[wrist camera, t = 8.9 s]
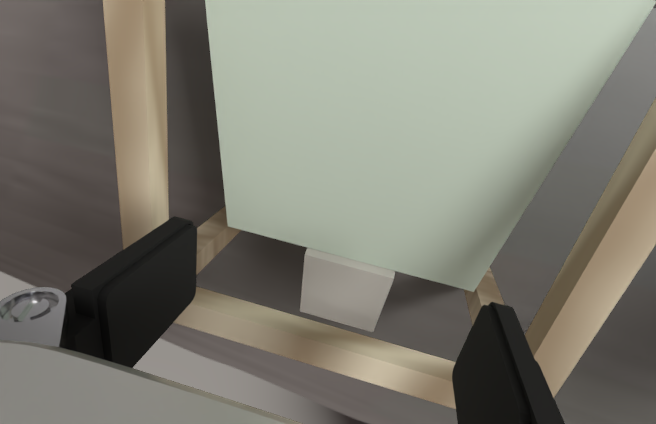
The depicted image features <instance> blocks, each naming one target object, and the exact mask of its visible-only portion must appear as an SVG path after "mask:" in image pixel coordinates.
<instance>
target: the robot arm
mask: <svg viewBox="0 0 656 424" xmlns="http://www.w3.org/2000/svg"><path fill="white" fill-rule="evenodd" d="M196 265H197V228H196V227H195V226H193V222H192V221H190V220H186V219H182V218H178V217H172V218H171V219H169V220H168V221H166V222H165V223H163V224H162V225H160V226H159V227H157V228H156V229H154V230H153V231H151V232H150V233H148V234H146V235H145V236H143V237H142V238H140V239H139V240H137V241H136V242H134V243H133V244H131V245H130V246H128V247H127V248H125V249H124V250H122V251H121V252H119V253H118V254H116V255H115V256H113V257H112V258H110V259H109V260H107V261H106V262H104V263H103V264H101V265H100V266H98V267H97V268H95V269H94V270H92V271H91V272H89V273H88V274H86V275H85V276H83V277H82V278H80V279H78V280H77V281H75V282H74V283H72V284H71V287H72V289H71V290H69V291H68V292H66V293H65V294H64V293H63V292H62V291H61V290H58V289H56V288H50V287H38V288H32V289H26V290H23V291H20V292H17V293H14V294H12V295H10V296H8V297H6V298H4V299H3V300H1V301H0V424H303V423H300V422H297V421H294V420H290V419H287V418H284V417H281V416H278V415H275V414H272V413H269V412H266V411H263V410H260V409H257V408H254V407H251V406H248V405H245V404H242V403H238V402H235V401H233V400H229V399H226V398H223V397H220V396H217V395H214V394H211V393H208V392H205V391H202V390H199V389H195V388H192V387H189V386H186V385H183V384H180V383H177V382H174V381H171V380H167V379H164V378H161V377H158V376H155V375H152V374H149V373H145V372H142V371H139V370H136V369H133V366H134V365H135V364H136V363H137V362H138V361H139V360H140V359H141V358H142V356H143V355H144V354H145V353H146V352H147V351H148V350H149V348H151V346H152V345H153V344H154V343H155V342H156V341H157V340H158V339H159V338H160V336H161V335H162V334H163V333H164V332H165V331H166V330H167V329H168V328H169V326H170V325H171V324H172V323H173V322H174V321H175V320H176V319H177V318H178V316H179V315H180V314H181V313H182V312H183V311H184V310H185V309H186V308H187V307H188V305H189V304H190V303H191V302H192V301H193V299H194V297H195V293H196ZM452 383H453V390H454V397H455V405H456V412H457V419H458V424H565V423H564V421H563V419H562V416H561V414H560V412H559V409H558V407H557V405H556V402H555V400H554V398H553V396H552V393H551V391H550V389H549V386H548V384H547V382H546V379H545V377H544V375H543V372H542V370H541V368H540V366H539V364H538V362H537V361H535V359H534V356H533V354H532V352H531V349H530V347H529V344H528V342H527V340H526V337H525V335H524V333H523V330H522V328H521V326H520V323H519V321H518V318H517V316H516V314H515V311H514V309H513V308H512V307H510V306H506V305H502V304H498V303H495V302H491V303H490V304H489V305H488V306H487V305H483V306H482V307H481V309H480V311H479V313H478V315H477V318H476V320H475V322H474V324H473V326H472V329H471V331H470V333H469V335H468V337H467V339H466V342H465V344H464V346H463V348H462V350H461V352H460V355H459V357H458V359H457V361H456V363H455V365H454V368H453V372H452Z"/></svg>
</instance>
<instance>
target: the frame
mask: <svg viewBox="0 0 656 424" xmlns="http://www.w3.org/2000/svg"><path fill="white" fill-rule="evenodd" d="M103 9H104V22H105V34H106V46H107V58H108V70H109V82H110V95H111V107H112V119H113V131H114V143H115V155H116V167H117V180H118V192H119V204H120V216H121V228H122V240H123V250H124V249H125V248H127V247H128V246H130V245H131V244H133V243H134V242H136V241H137V240H139V239H140V238H142V237H143V236H145V235H146V234H148V233H150V232H151V231H153V230H154V229H156V228H157V227H159V226H160V225H162V224H163V223H165V222H166V221H168V220H169V205H168V147H167V89H166V31H165V0H103ZM240 231H241V230H240V229H236V228H232V227H229V226H228V224H227V214H226V206H225V207H223V208H222V209H221V210H220V211H218V212H217V213H216V214H215V215H213V216H212V217H211V218H209V219H208V220H207V221H206V222H204V223H203V224H202V225H201V226H199V227H198V228H197V265H196V275H197V274H198V273H199V272H200V271H201V270H202V269H203V268H204V267H205V266H206V265H207V264H208V263H209V262H210V261H211V260H212V259H213V258H214V257H215V256H216V255H217V254H218V253H219V252H220V251H221V250H222V249H223V248H224V247H225V246H226V245H227V244H228V243H229V242H230V241H231V240H232V239H233V238H234V237H235V236H236V235H237V234H238V233H239V232H240ZM655 245H656V98H655V100H654V102H653V103H652V105H651V107H650V109H649V111H648V112H647V114H646V116H645V118H644V120H643V121H642V123H641V125H640V127H639V129H638V131H637V132H636V134H635V136H634V138H633V140H632V141H631V143H630V145H629V147H628V149H627V151H626V152H625V154H624V156H623V158H622V160H621V161H620V163H619V165H618V167H617V169H616V170H615V172H614V174H613V176H612V178H611V180H610V181H609V183H608V185H607V187H606V189H605V190H604V192H603V194H602V196H601V198H600V199H599V201H598V203H597V205H596V207H595V209H594V210H593V212H592V214H591V216H590V218H589V219H588V221H587V223H586V225H585V227H584V229H583V230H582V232H581V234H580V236H579V238H578V239H577V241H576V243H575V245H574V247H573V248H572V250H571V252H570V254H569V256H568V258H567V259H566V261H565V263H564V265H563V267H562V268H561V270H560V272H559V274H558V276H557V278H556V279H555V281H554V283H553V285H552V287H551V288H550V290H549V292H548V294H547V296H546V297H545V299H544V301H543V303H542V305H541V307H540V308H539V310H538V312H537V314H536V316H535V317H534V319H533V321H532V323H531V325H530V327H529V328H528V330H527V332H526V334H525V337H526V340H527V342H528V344H529V347H530V349H531V352H532V354H533V356H534V359H535V361H537V362H538V364H539V366H540V368H541V370H542V372H543V375H544V377H545V379H546V382H547V384H548V386H549V389H550V391H551V393H552V396H553V398H554V397H555V395H556V394H557V392H558V391H559V389H560V388H561V386H562V385H563V383H564V382H565V380H566V379H567V377H568V376H569V374H570V373H571V371H572V370H573V368H574V367H575V365H576V364H577V362H578V361H579V359H580V358H581V356H582V355H583V353H584V352H585V350H586V349H587V347H588V346H589V344H590V343H591V341H592V340H593V338H594V337H595V335H596V334H597V332H598V331H599V329H600V328H601V326H602V325H603V323H604V322H605V320H606V319H607V317H608V316H609V314H610V313H611V311H612V310H613V308H614V307H615V305H616V304H617V302H618V301H619V299H620V298H621V296H622V295H623V293H624V292H625V290H626V288H627V287H628V285H629V284H630V282H631V281H632V279H633V278H634V276H635V275H636V273H637V272H638V270H639V269H640V267H641V266H642V264H643V263H644V261H645V260H646V258H647V257H648V255H649V254H650V252H651V251H652V249H653V248H654V246H655ZM464 292H465V296H466V300H467V305H468V309H469V313H470V317H471V321H472V325H473V324H474V322H475V320H476V318H477V315H478V313H479V311H480V309H481V307H482V306H483V305H487V306H488V305H489V304H490V303H491V302H495V303H498V304H502V305H505V304H504V302H503V299H502V297H501V294H500V292H499V289H498V287H497V284H496V282H495V279H494V277H493V274H492V272H491V269H490V267H489V268H488V270H487V272H486V273H485V275H484V276H483V278H482V280H481V281H480V283H479V284H478V286H477V287H476V289H475V291H474V292H472V291H468V290H465V289H464ZM173 323H177V324H180V325H183V326H186V327H190V328H193V329H196V330H199V331H203V332H206V333H209V334H213V335H216V336H219V337H222V338H226V339H229V340H232V341H235V342H239V343H242V344H245V345H248V346H252V347H255V348H258V349H261V350H265V351H268V352H271V353H274V354H278V355H281V356H284V357H287V358H291V359H294V360H297V361H300V362H304V363H307V364H310V365H314V366H317V367H320V368H323V369H327V370H330V371H333V372H336V373H340V374H343V375H346V376H349V377H353V378H356V379H359V380H362V381H366V382H369V383H372V384H375V385H379V386H382V387H385V388H388V389H392V390H395V391H398V392H401V393H405V394H408V395H411V396H415V397H418V398H421V399H424V400H428V401H431V402H434V403H437V404H441V405H444V406H447V407H450V408H454V409H456V405H455V397H454V390H453V383H452V372H453V368H454V365H455V363H456V362H453V361H450V360H446V359H443V358H440V357H436V356H433V355H429V354H426V353H422V352H419V351H416V350H412V349H409V348H405V347H402V346H398V345H395V344H392V343H388V342H385V341H381V340H378V339H374V338H371V337H368V336H364V335H361V334H357V333H354V332H350V331H347V330H344V329H340V328H337V327H333V326H330V325H326V324H323V323H320V322H316V321H313V320H309V319H306V318H302V317H299V316H296V315H292V314H289V313H285V312H282V311H278V310H275V309H272V308H268V307H265V306H261V305H258V304H254V303H251V302H248V301H244V300H241V299H237V298H234V297H230V296H227V295H224V294H220V293H217V292H213V291H210V290H206V289H203V288H200V287H196V293H195V297H194V299H193V301H192V302H191V303H190V304H189V305H188V307H187V308H186V309H185V310H184V311H183V312H182V313H181V314H180V315H179V316H178V318H177V319H176V320H175V321H174V322H173Z"/></svg>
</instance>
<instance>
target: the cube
mask: <svg viewBox="0 0 656 424" xmlns="http://www.w3.org/2000/svg"><path fill="white" fill-rule="evenodd" d="M394 275H395V271H393V270H390V269H386V268H382V267H378V266H375V265H371V264H367V263H363V262H360V261H356V260H352V259H349V258H345V257H341V256H337V255H334V254H330V253H326V252H322V251H319V250H315V249H311V248H307V250H306V252H305V256H304V268H303V280H302V293H301V305H300V312H304V313H307V314H311V315H314V316H318V317H321V318H325V319H328V320H332V321H335V322H338V323H342V324H345V325H349V326H352V327H356V328H359V329H363V330H366V331H370V332H373V331H374V329H375V326H376V324H377V321H378V319H379V316H380V313H381V311H382V308H383V306H384V303H385V301H386V298H387V295H388V293H389V290H390V288H391V285H392V283H393V280H394Z"/></svg>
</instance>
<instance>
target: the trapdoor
mask: <svg viewBox="0 0 656 424" xmlns="http://www.w3.org/2000/svg"><path fill="white" fill-rule="evenodd" d="M205 5H206V15H207V25H208V35H209V45H210V55H211V65H212V75H213V85H214V95H215V105H216V114H217V124H218V134H219V144H220V154H221V164H222V174H223V184H224V194H225V204H226V214H227V224H228V226H229V227H232V228H236V229H240V230H244V231H247V232H251V233H255V234H259V235H262V236H266V237H270V238H274V239H277V240H281V241H285V242H289V243H292V244H296V245H300V246H304V247H307V248H311V249H315V250H319V251H322V252H326V253H330V254H334V255H337V256H341V257H345V258H349V259H352V260H356V261H360V262H363V263H367V264H371V265H375V266H378V267H382V268H386V269H390V270H393V271H397V272H401V273H405V274H408V275H412V276H416V277H420V278H423V279H427V280H431V281H435V282H438V283H442V284H446V285H450V286H453V287H457V288H461V289H465V290H468V291H472V292H474V291H475V289H476V287H477V286H478V284H479V283H480V281H481V280H482V278H483V276H484V275H485V273H486V272H487V270H488V268H489V267H490V265H491V264H492V262H493V261H494V259H495V257H496V256H497V254H498V253H499V251H500V249H501V248H502V246H503V245H504V243H505V241H506V240H507V238H508V237H509V235H510V234H511V232H512V230H513V229H514V227H515V226H516V224H517V222H518V221H519V219H520V218H521V216H522V215H523V213H524V211H525V210H526V208H527V207H528V205H529V203H530V202H531V200H532V199H533V197H534V196H535V194H536V192H537V191H538V189H539V188H540V186H541V184H542V183H543V181H544V180H545V178H546V176H547V175H548V173H549V172H550V170H551V169H552V167H553V165H554V164H555V162H556V161H557V159H558V157H559V156H560V154H561V153H562V151H563V150H564V148H565V146H566V145H567V143H568V142H569V140H570V138H571V137H572V135H573V134H574V132H575V131H576V129H577V127H578V126H579V124H580V123H581V121H582V119H583V118H584V116H585V115H586V113H587V112H588V110H589V108H590V107H591V105H592V104H593V102H594V100H595V99H596V97H597V96H598V94H599V92H600V91H601V89H602V88H603V86H604V85H605V83H606V81H607V80H608V78H609V77H610V75H611V73H612V72H613V70H614V69H615V67H616V66H617V64H618V62H619V61H620V59H621V58H622V56H623V54H624V53H625V51H626V50H627V48H628V47H629V45H630V43H631V42H632V40H633V39H634V37H635V35H636V34H637V32H638V31H639V29H640V27H641V26H642V24H643V23H644V21H645V20H646V18H647V16H648V15H649V13H650V12H651V10H652V8H656V0H205Z"/></svg>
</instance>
